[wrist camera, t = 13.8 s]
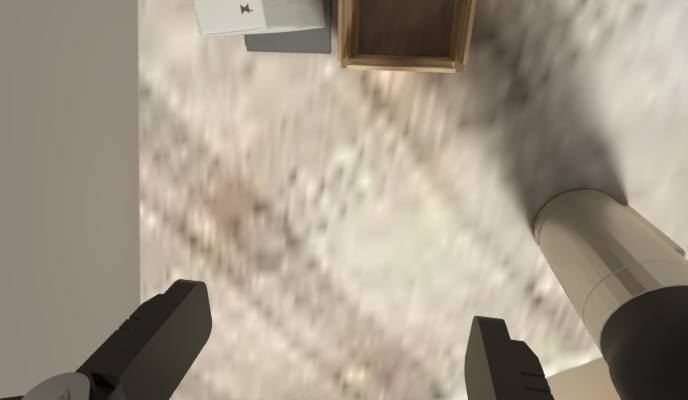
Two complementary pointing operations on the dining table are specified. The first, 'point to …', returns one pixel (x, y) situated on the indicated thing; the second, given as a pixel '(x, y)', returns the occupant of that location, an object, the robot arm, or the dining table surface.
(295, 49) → the mat
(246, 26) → the skincare box
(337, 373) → the dining table surface
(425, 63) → the carton
